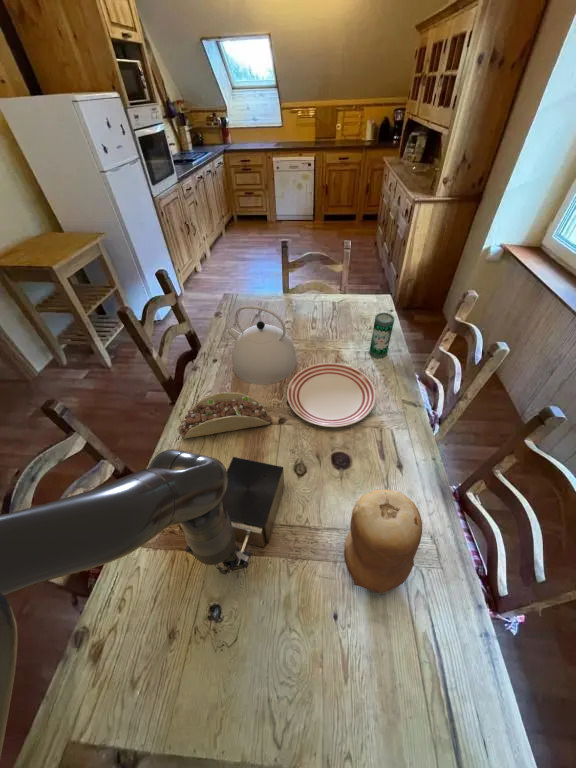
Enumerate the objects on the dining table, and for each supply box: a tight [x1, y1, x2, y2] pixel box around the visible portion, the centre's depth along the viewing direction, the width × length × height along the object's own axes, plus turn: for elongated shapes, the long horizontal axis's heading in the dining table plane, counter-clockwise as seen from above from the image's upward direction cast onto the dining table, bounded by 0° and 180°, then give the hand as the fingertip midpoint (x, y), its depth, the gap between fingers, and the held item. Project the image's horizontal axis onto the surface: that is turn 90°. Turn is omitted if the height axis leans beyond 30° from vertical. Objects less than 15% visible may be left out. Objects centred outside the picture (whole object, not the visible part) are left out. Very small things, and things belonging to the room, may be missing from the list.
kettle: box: [226, 305, 297, 386], centre depth 114 cm, size 25×23×22 cm
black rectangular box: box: [222, 456, 286, 545], centre depth 80 cm, size 15×13×9 cm
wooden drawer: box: [230, 520, 266, 552], centre depth 76 cm, size 19×11×7 cm, turn 166°
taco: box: [178, 392, 272, 439], centre depth 97 cm, size 10×27×10 cm, turn 101°
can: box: [368, 312, 395, 359], centre depth 118 cm, size 6×6×15 cm
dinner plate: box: [286, 362, 377, 428], centre depth 107 cm, size 28×27×3 cm
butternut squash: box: [343, 489, 423, 595], centre depth 64 cm, size 14×13×25 cm
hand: (225, 568), depth 69 cm, fingers closed
